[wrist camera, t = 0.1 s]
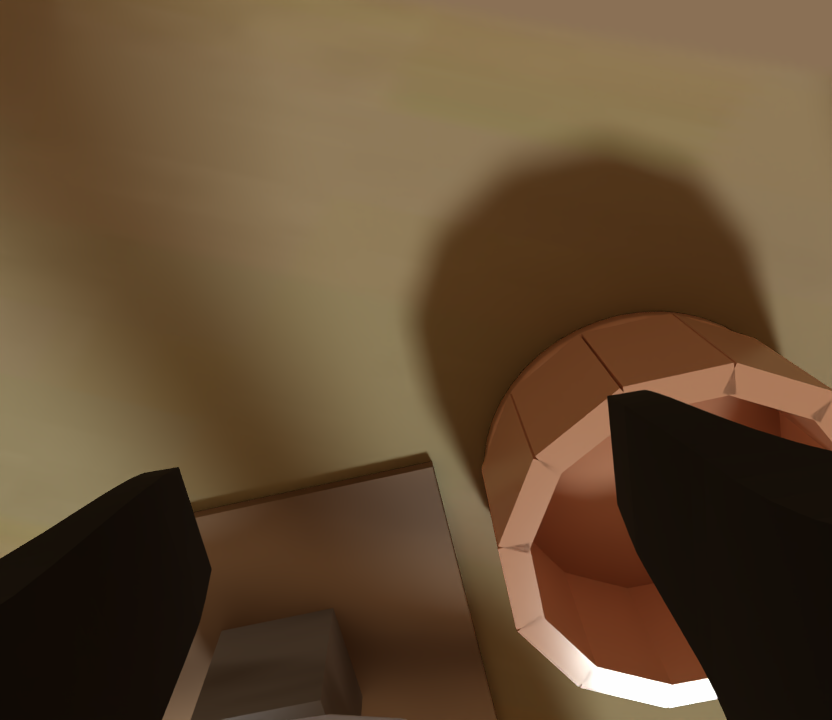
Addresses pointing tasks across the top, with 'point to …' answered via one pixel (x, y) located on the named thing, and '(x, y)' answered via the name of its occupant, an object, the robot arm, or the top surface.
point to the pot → (596, 492)
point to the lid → (334, 608)
